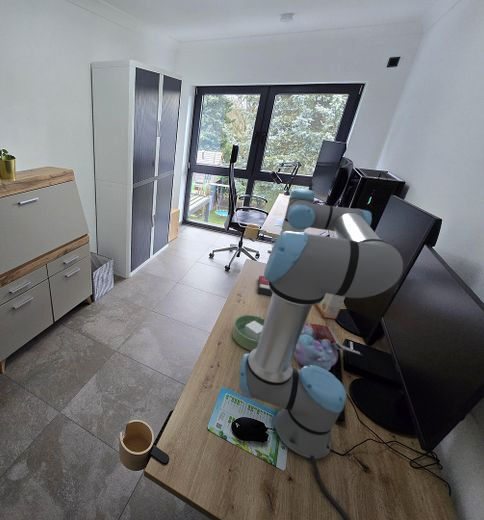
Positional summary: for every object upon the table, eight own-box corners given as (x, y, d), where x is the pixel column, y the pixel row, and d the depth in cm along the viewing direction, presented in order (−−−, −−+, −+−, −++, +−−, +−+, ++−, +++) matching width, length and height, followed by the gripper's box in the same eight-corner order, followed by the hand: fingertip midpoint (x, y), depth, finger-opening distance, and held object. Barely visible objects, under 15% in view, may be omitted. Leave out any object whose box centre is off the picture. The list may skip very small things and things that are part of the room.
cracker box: (336, 319, 137) (352, 282, 127) (323, 317, 138) (337, 280, 128) (326, 302, 149) (339, 267, 140) (313, 301, 150) (326, 266, 141)
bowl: (279, 355, 116) (282, 344, 113) (235, 350, 118) (237, 339, 115) (268, 327, 131) (271, 317, 128) (229, 323, 133) (231, 313, 131)
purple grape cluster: (270, 339, 117) (302, 322, 104) (298, 318, 128) (330, 300, 115) (306, 386, 110) (346, 374, 96) (332, 359, 121) (371, 345, 107)
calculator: (280, 278, 163) (281, 290, 151) (278, 285, 165) (279, 297, 152) (259, 274, 167) (259, 286, 154) (258, 281, 169) (257, 293, 156)
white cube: (263, 339, 124) (266, 328, 121) (254, 344, 121) (257, 333, 118) (251, 331, 128) (254, 320, 125) (242, 335, 125) (245, 325, 122)
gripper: (316, 246, 95) (299, 299, 105) (292, 221, 117) (279, 267, 127) (292, 244, 96) (277, 297, 106) (272, 220, 118) (261, 265, 128)
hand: (278, 281), depth 116 cm, fingers open, 13 cm apart
